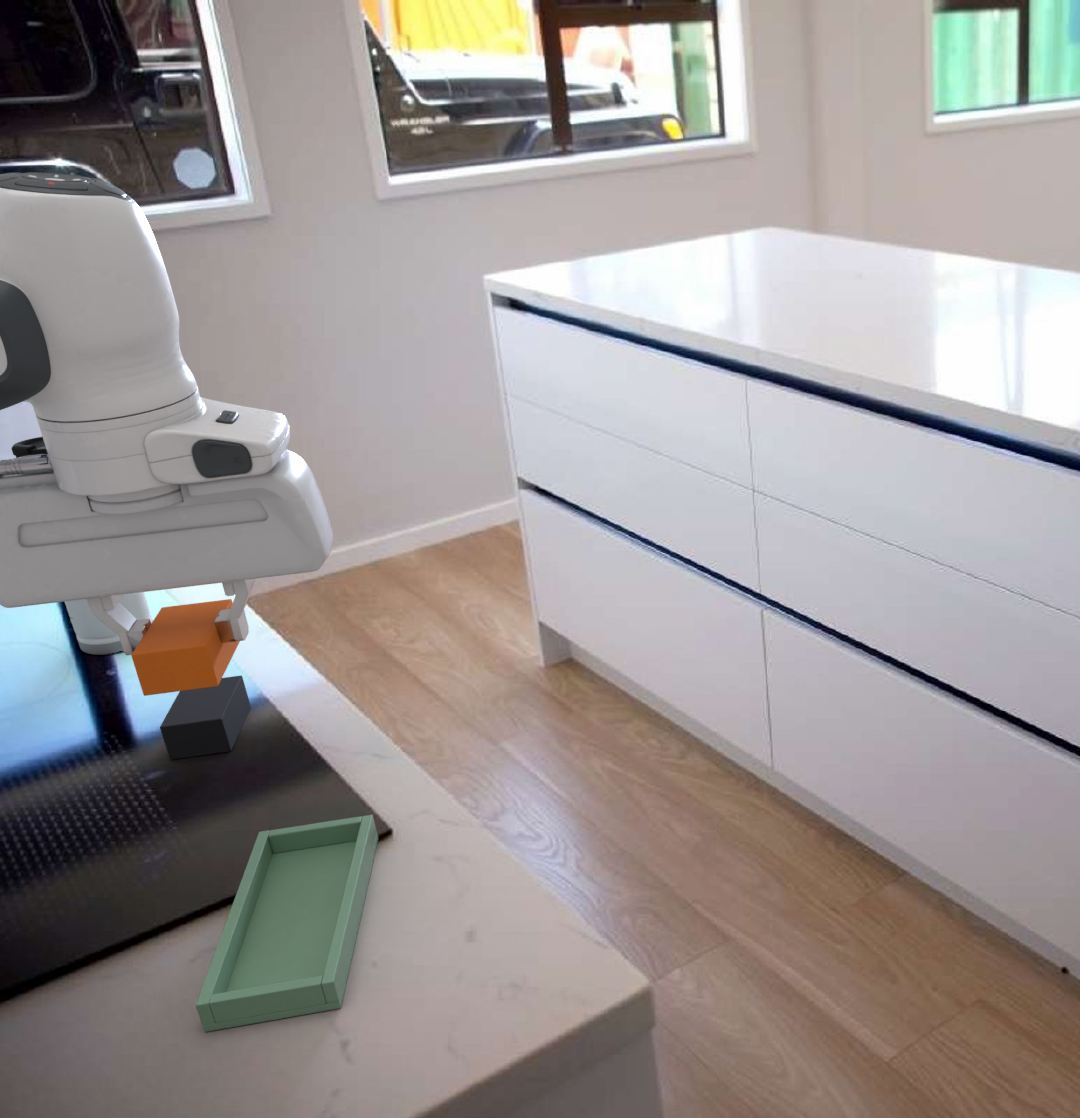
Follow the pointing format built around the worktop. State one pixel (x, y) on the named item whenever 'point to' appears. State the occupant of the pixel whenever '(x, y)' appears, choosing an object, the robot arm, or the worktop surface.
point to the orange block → (183, 649)
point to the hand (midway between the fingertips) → (189, 644)
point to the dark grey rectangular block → (206, 719)
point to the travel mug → (86, 625)
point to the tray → (291, 925)
